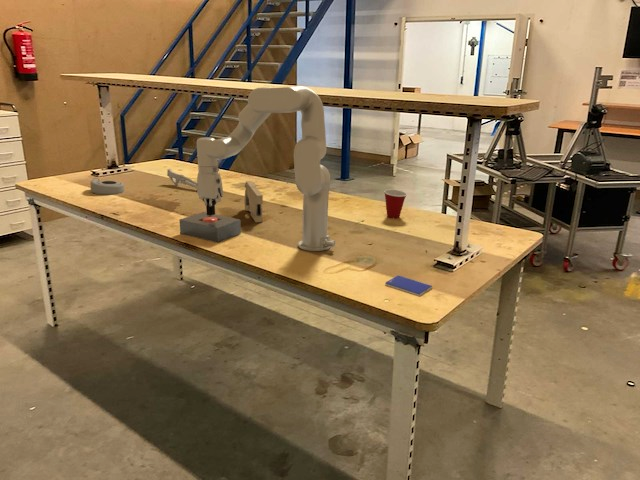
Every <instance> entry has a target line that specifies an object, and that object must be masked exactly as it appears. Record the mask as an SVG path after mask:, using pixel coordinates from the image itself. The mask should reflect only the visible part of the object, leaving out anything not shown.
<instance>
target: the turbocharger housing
mask: <svg viewBox="0 0 640 480" xmlns="http://www.w3.org/2000/svg"><path fill="white" fill-rule="evenodd" d="M90 191H91V193H93V194H96V195H102V196H104V195H105V196H106V195H117V194H121V193H123V192H124V191H125V184H124V183H123V182H121V181H117V180H107V179H106V180H100V179H99V178H98V177H94V178H93V179H92V180H91V181H90Z"/></svg>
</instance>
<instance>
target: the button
mask: <svg viewBox="0 0 640 480" xmlns="http://www.w3.org/2000/svg"><path fill="white" fill-rule="evenodd" d="M202 220H203V221H204V222H208V223H212V222H215V221H218V219H217V218H215V217H206V218H203V219H202Z"/></svg>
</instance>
